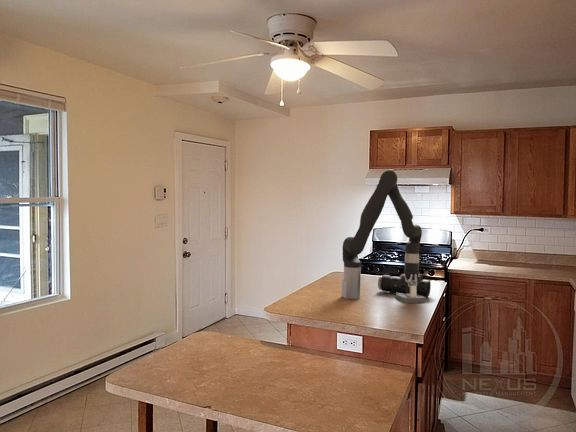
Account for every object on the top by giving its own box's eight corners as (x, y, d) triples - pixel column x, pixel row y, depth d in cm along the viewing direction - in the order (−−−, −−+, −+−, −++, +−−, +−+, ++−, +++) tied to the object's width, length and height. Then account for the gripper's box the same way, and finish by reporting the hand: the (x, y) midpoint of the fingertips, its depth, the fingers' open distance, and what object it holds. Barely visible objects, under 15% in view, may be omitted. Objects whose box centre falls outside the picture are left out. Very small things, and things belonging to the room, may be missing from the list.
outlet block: (406, 303, 228) (406, 298, 228) (396, 298, 237) (396, 294, 237) (425, 302, 231) (425, 297, 231) (414, 297, 241) (415, 293, 241)
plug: (411, 298, 231) (411, 283, 231) (406, 297, 235) (406, 282, 236) (416, 297, 232) (416, 283, 232) (411, 296, 236) (411, 282, 237)
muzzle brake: (426, 299, 237) (427, 281, 236) (377, 293, 251) (377, 275, 250) (430, 296, 245) (431, 278, 245) (382, 290, 259) (382, 273, 258)
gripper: (404, 262, 228) (403, 295, 229) (427, 262, 232) (426, 293, 233) (396, 260, 235) (395, 292, 236) (418, 259, 239) (418, 290, 240)
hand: (411, 292), depth 234 cm, fingers closed on plug, 3 cm apart
